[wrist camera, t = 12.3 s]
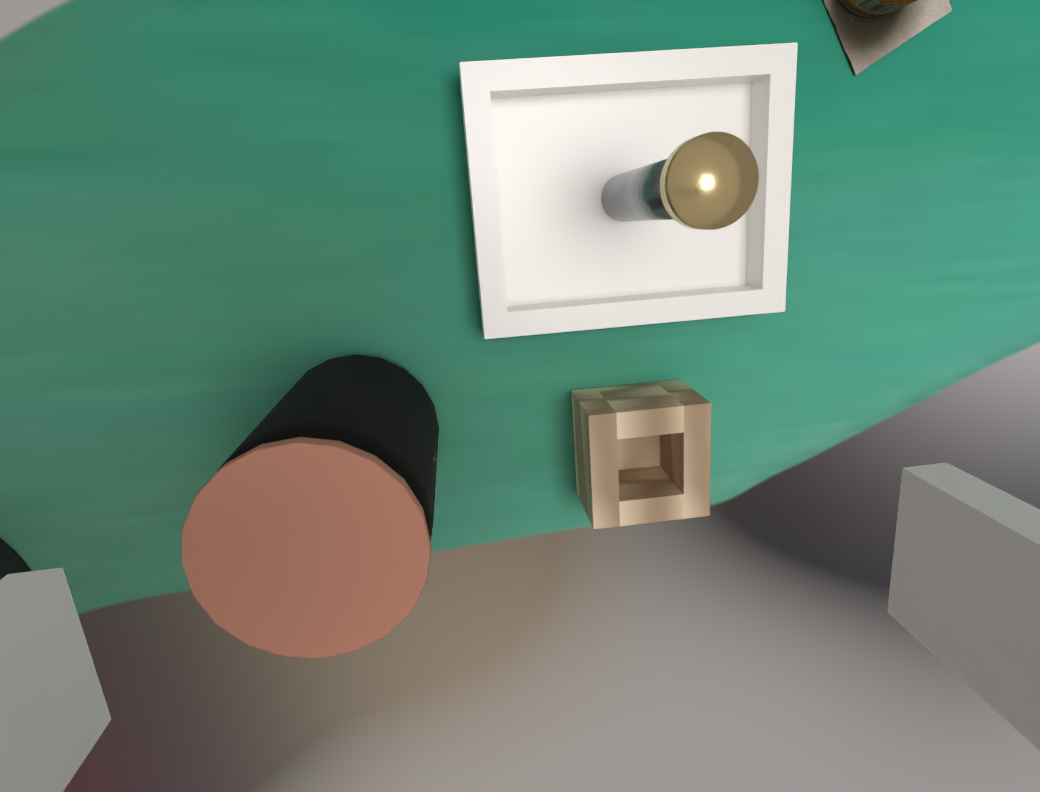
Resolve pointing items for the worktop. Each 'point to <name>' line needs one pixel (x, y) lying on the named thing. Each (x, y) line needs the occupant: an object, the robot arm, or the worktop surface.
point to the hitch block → (642, 452)
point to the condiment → (880, 25)
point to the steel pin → (688, 185)
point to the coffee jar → (321, 514)
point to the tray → (604, 154)
